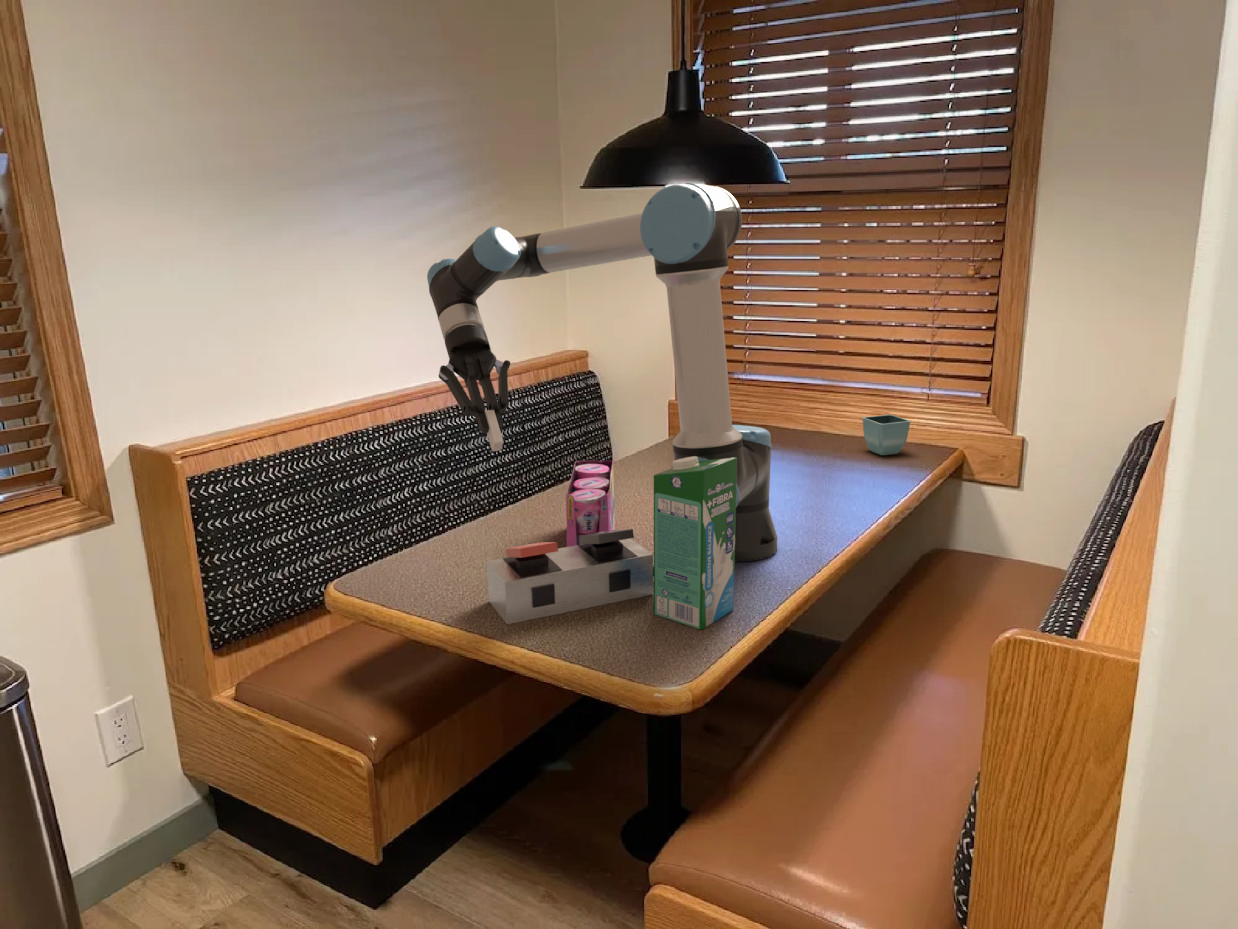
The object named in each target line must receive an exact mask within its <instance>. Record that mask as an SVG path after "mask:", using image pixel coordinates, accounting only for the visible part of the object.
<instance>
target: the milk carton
mask: <svg viewBox="0 0 1238 929" xmlns="http://www.w3.org/2000/svg"><path fill="white" fill-rule="evenodd" d="M672 467H673V468H672ZM672 467H671V468H669V469H667V470H663V471H661V472H659V473H655V474H653V567H654V577H653V615H655V616H658V617H661V618H665V619H667V620H671V621H674V622H676V623H680V624H682V625H686V626H689V627H691V628H695V629H697V630H699V631H700V630H701V631H702V630H704V629H705V628H707V627H708V626H710V625H712V624H713V623H715V622H717V621H718V620H720V619H722V618H723V617H724V616H726V615H728V614H729V613H731V612H733V611H734V609H735V608H734V607H735V605H734V604H735V600H734V599H735V598H734V597H735V562H736V561H735V523H736V478H737V458H736V457H735V458H725V459H715V460H706V461H698V457H697V456H693V457H687V458H681V459H677V460H674V459H673V461H672Z"/></svg>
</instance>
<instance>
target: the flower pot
mask: <svg viewBox="0 0 1238 929" xmlns="http://www.w3.org/2000/svg"><path fill="white" fill-rule="evenodd" d="M910 425H911V420H909V419H906V418H902V417H900V416H896V415H893V414H883V415H872V416H864V417H862V428H863V437H864V441H865V443H866V445H867V447H868V449H869V451H870V452H872V453H874V454H877V455H879V456H882V455H883V456H888V455H897V454H899V453H901V451H902V449H903V448H904V446H905V445H906V442H907V440H908V439H907V438H908V436H909V431H910Z"/></svg>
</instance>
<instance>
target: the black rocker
mask: <svg viewBox="0 0 1238 929" xmlns="http://www.w3.org/2000/svg"><path fill="white" fill-rule="evenodd" d="M630 538H631V539H635V536H634V530H633V528H630V529H629V528H628V529H614V530H611V531H605V532H599V533H594V534H588V535H582V536H581V542H582V544H602V543H607V542H613V541H619V540H624V539H630Z"/></svg>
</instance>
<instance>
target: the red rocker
mask: <svg viewBox="0 0 1238 929" xmlns="http://www.w3.org/2000/svg"><path fill="white" fill-rule="evenodd" d="M558 546H559V545H558V542H557V541H554V542H553V541H551V542H550V541H549V542H547V541H545V542H543V541H540V542H535V543H529V544H528V543H527V544H523V545H517V546H512V547H505V556H506V558H507V557H516V558H523V557H529V556H534V555H540V554H546V553H551V552H557V551H558V548H559V547H558Z"/></svg>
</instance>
